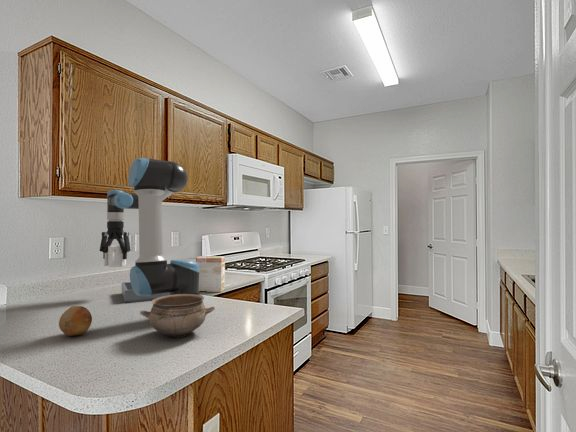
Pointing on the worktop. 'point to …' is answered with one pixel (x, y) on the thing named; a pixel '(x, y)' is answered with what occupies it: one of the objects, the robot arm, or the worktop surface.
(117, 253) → the mug
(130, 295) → the box
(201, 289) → the coffeecake box
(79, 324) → the onion
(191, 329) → the cooking pot
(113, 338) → the worktop surface
